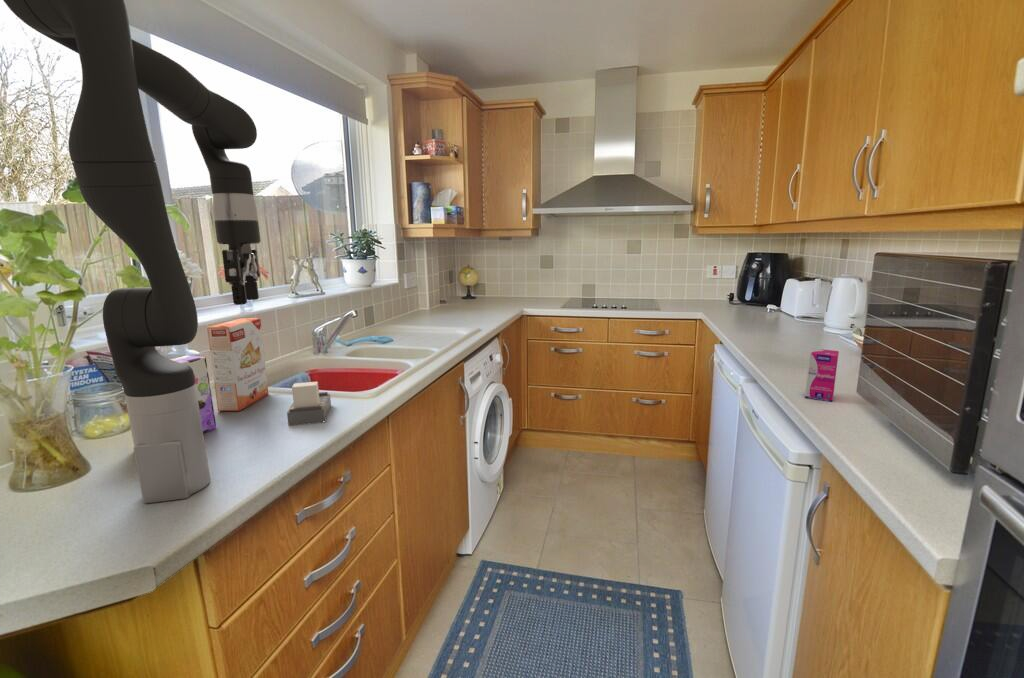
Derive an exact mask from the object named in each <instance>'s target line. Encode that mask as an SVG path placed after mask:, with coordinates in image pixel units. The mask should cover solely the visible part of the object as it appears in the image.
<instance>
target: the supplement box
mask: <svg viewBox="0 0 1024 678" xmlns="http://www.w3.org/2000/svg"><path fill="white" fill-rule="evenodd" d="M839 353H840V352H839V350H833V349H832V350H831V349H822V348H813V347H812V348H811V349H810V352H809V358H808V366H807V374H806V375H807V376H806V383H805V390H804V391H805V393H804V398H805V399H813V400H817V401H825V402H830V403H831V402H833V399H834V393H835V386H836V385H835V383H836V377H837V376H836V375H837V369H838V368H837V367H838V362H839Z"/></svg>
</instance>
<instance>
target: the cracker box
mask: <svg viewBox="0 0 1024 678" xmlns="http://www.w3.org/2000/svg"><path fill="white" fill-rule="evenodd" d="M206 330H207V331H206V332H207V338H208V346H209V354H210V361H211V362H210V363H211V367H212V368H211V370H212V375H213V383H214V384H213V385H214V392H215V401H216V405H217V411H218V412H219V411H220V412H240V411H242V410H243V409H245V408H247V407H249V406H250V405H252V404H254V403H255V402H257V401H259V400H261V399H262V398H264V397H266V396H267V395H269V387H268V377H267V369H266V368H267V366H266V359H265V358H266V357H265V351H264V350H265V349H264V339H263V332H262V330H263V329H262V321H261V318H259V317H246V318H245V317H243V318H241V317H240V318H237V319H233V320H230V321H225V322H221V323H217V324H214V325H210V326H207V327H206Z"/></svg>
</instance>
